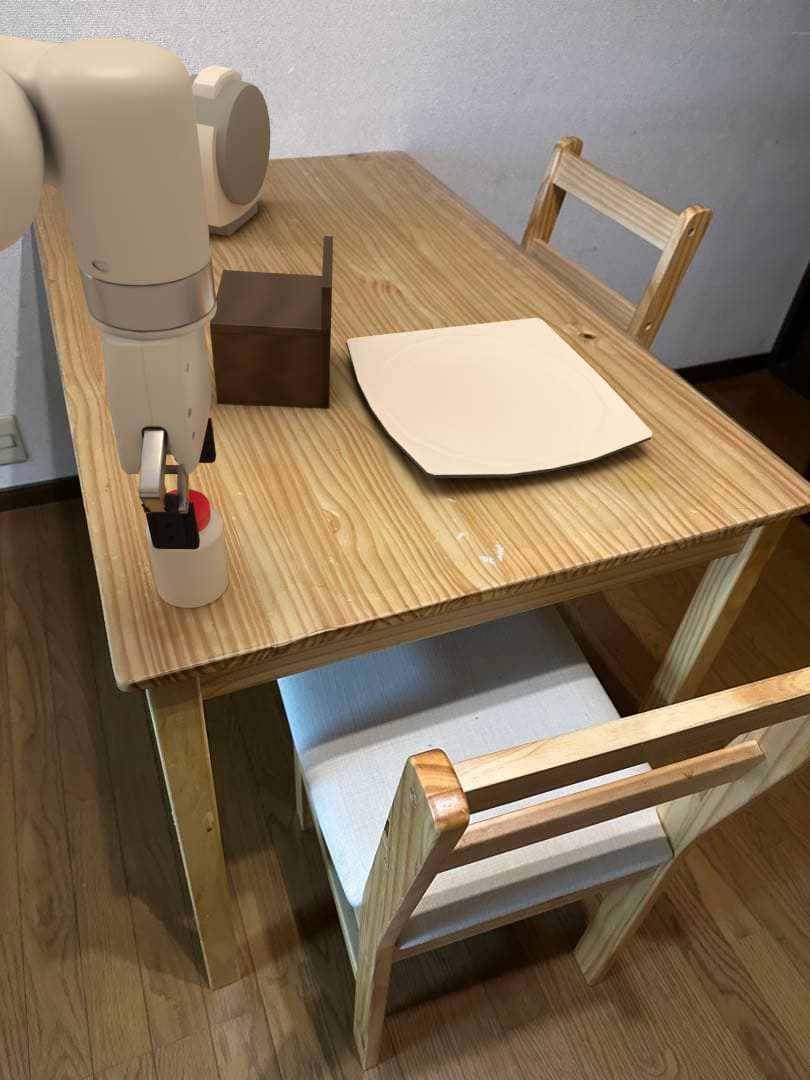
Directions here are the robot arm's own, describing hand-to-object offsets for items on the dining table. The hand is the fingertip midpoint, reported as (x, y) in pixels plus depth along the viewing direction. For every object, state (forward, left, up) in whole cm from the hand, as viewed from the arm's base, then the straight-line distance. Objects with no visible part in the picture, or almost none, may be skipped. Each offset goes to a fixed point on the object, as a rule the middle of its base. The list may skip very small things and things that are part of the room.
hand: (187, 500), depth 58 cm
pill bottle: (0, 0, -9) cm, 9 cm away
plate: (+29, +28, -9) cm, 41 cm away
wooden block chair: (+5, +32, -9) cm, 33 cm away
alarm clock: (-5, +75, -9) cm, 76 cm away
